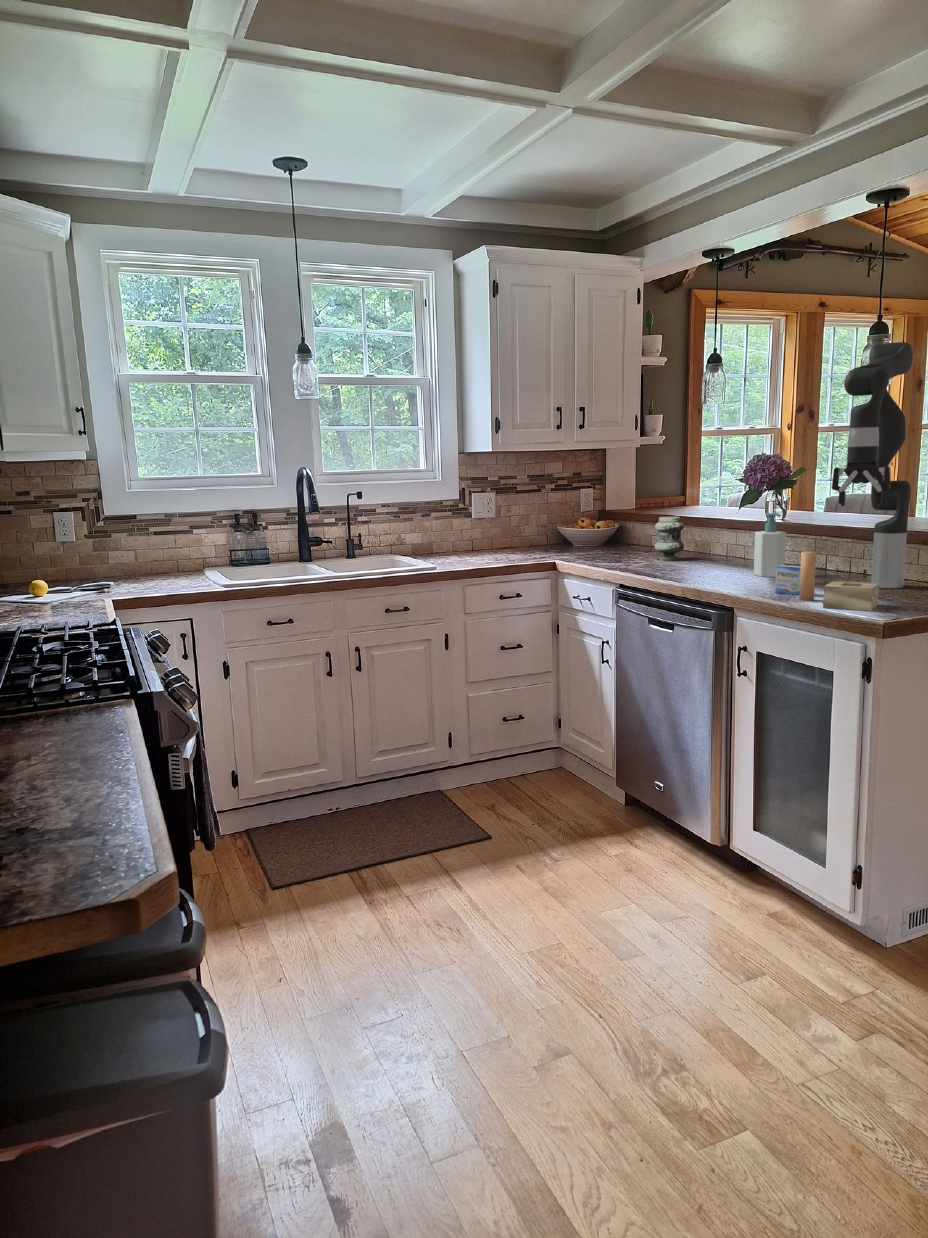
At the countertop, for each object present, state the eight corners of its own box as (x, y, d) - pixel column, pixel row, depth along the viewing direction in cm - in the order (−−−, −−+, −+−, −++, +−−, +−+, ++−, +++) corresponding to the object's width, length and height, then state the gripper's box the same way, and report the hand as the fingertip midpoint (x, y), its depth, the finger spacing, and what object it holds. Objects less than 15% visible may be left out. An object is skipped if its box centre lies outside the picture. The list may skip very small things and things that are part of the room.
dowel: (801, 598, 252) (803, 551, 249) (815, 599, 249) (817, 551, 247) (797, 600, 248) (799, 552, 246) (812, 601, 246) (814, 553, 244)
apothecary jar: (666, 557, 367) (667, 515, 363) (689, 559, 357) (690, 516, 354) (648, 560, 359) (649, 517, 356) (672, 562, 350) (672, 518, 347)
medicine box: (774, 593, 262) (775, 565, 261) (781, 591, 265) (782, 564, 264) (799, 596, 257) (800, 567, 255) (806, 594, 260) (807, 566, 258)
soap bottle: (772, 577, 296) (775, 514, 292) (749, 575, 303) (751, 513, 299) (788, 575, 302) (791, 512, 299) (765, 572, 309) (767, 512, 306)
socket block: (832, 601, 245) (833, 580, 244) (877, 604, 238) (879, 583, 237) (822, 607, 235) (824, 586, 234) (870, 611, 229) (871, 588, 227)
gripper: (894, 444, 227) (890, 505, 230) (837, 445, 235) (834, 505, 238) (890, 444, 221) (886, 506, 224) (831, 446, 229) (829, 506, 232)
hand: (859, 505), depth 231 cm, fingers open, 8 cm apart
